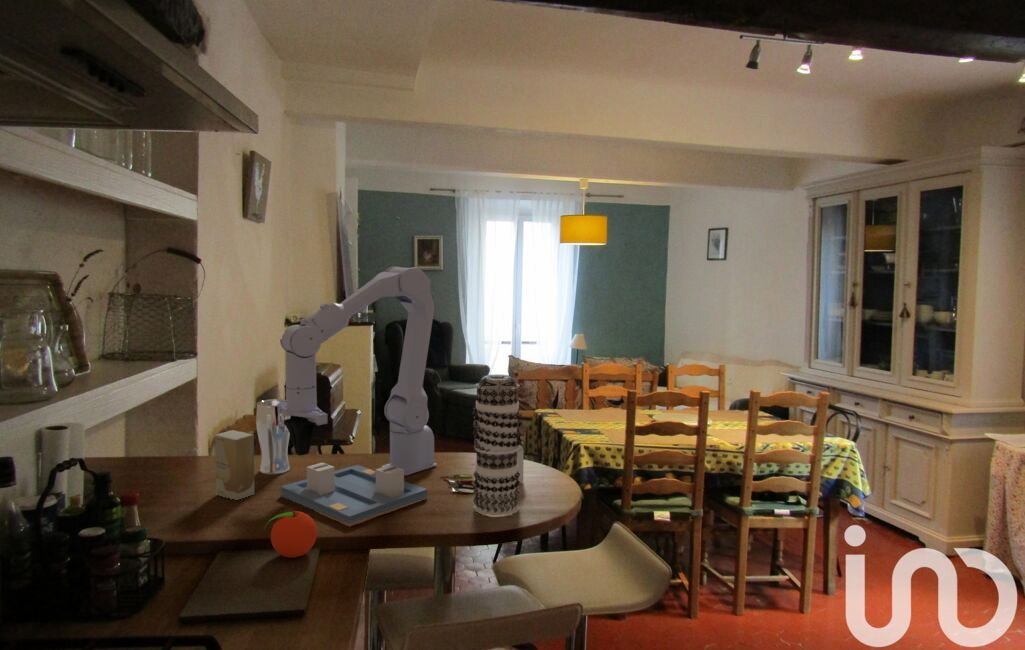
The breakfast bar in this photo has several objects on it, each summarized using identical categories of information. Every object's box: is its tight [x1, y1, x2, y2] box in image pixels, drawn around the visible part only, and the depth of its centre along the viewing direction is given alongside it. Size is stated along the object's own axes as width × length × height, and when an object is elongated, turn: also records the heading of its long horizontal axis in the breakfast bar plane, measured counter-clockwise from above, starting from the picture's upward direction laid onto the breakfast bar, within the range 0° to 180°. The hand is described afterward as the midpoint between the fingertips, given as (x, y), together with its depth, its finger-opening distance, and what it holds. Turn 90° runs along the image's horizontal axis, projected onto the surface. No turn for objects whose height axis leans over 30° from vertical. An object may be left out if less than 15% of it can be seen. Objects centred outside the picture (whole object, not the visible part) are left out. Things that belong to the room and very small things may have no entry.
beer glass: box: [255, 398, 291, 476], centre depth 146 cm, size 7×7×15 cm
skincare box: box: [214, 429, 255, 501], centre depth 131 cm, size 6×4×12 cm
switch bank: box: [280, 464, 428, 524], centre depth 131 cm, size 18×22×2 cm
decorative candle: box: [471, 374, 523, 515], centre depth 125 cm, size 9×9×25 cm
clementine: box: [263, 511, 318, 559], centre depth 106 cm, size 8×7×7 cm
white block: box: [375, 465, 405, 498], centre depth 130 cm, size 4×4×5 cm
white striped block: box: [306, 462, 336, 495], centre depth 131 cm, size 4×4×5 cm
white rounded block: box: [517, 444, 525, 485], centre depth 139 cm, size 4×6×12 cm
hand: (302, 453), depth 134 cm, fingers closed
